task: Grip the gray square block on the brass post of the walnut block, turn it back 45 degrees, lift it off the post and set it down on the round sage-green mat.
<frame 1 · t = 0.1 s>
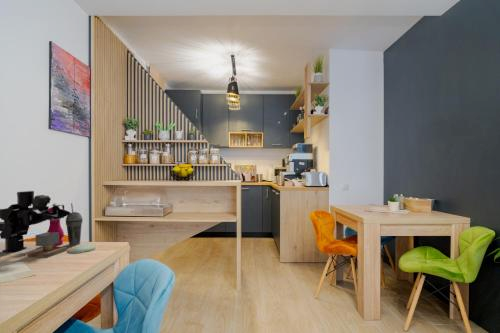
hand: (61, 214, 129), 17 cm above the table, tool horizontal, fingers open, 9 cm apart
post block: (47, 253, 128), on the table
gray square block: (47, 244, 128), point 4 cm above the table, touching post block
pepper mill: (55, 245, 143), on the table
beverage cup: (74, 244, 143), on the table
mat: (81, 249, 133), on the table
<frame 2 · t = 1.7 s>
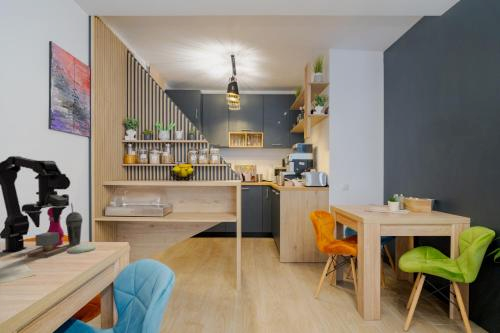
hand: (47, 225, 128), 12 cm above the table, tool pointing down, fingers open, 9 cm apart
nothing on the table moved.
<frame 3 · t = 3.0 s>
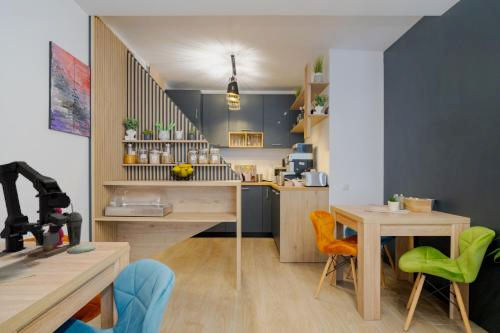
hand: (47, 243, 128), 4 cm above the table, tool pointing down, fingers closed on gray square block, 6 cm apart
gray square block: (47, 244, 128), point 4 cm above the table, touching gripper, post block
everything else where it was.
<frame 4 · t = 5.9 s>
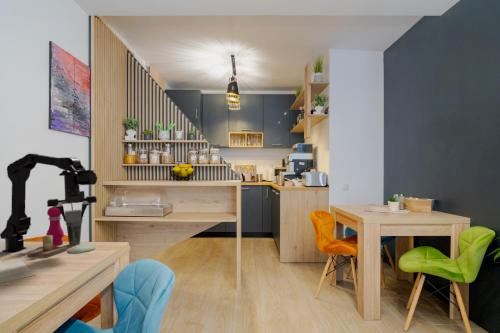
hand: (73, 220, 132), 14 cm above the table, tool pointing down, fingers closed on gray square block, 6 cm apart
gray square block: (73, 221, 132), point 13 cm above the table, touching gripper
everything else where it was.
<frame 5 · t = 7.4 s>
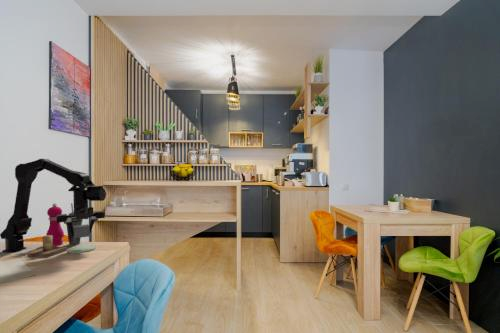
hand: (81, 235, 133), 7 cm above the table, tool pointing down, fingers closed on gray square block, 6 cm apart
gray square block: (81, 236, 133), point 6 cm above the table, touching gripper
everything else where it was.
when the fingers open (2 cm above the table, at t = 8.8 s): gray square block stays where it is, resting on mat.
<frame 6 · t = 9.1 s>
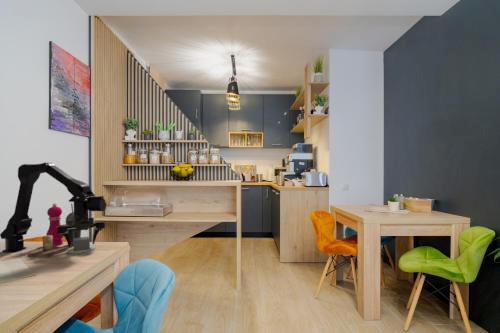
hand: (81, 245, 133), 2 cm above the table, tool pointing down, fingers open, 9 cm apart
gray square block: (81, 248, 133), resting on mat
everything else where it was.
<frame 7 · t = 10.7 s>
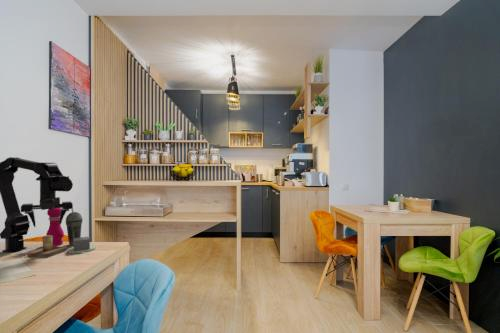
hand: (47, 225, 131), 12 cm above the table, tool pointing down, fingers open, 9 cm apart
nothing on the table moved.
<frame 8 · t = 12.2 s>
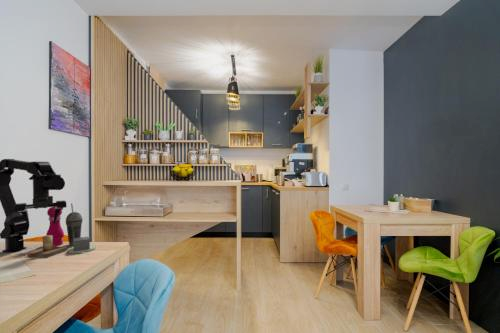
hand: (41, 225, 130), 12 cm above the table, tool pointing down, fingers open, 9 cm apart
nothing on the table moved.
at the end: gray square block 0.1 cm off-centre on the mat, point 0.5 cm above the mat's base; gray square block tilted 0°; the gripper is holding nothing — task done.
